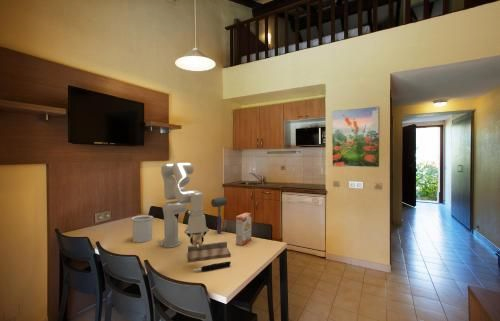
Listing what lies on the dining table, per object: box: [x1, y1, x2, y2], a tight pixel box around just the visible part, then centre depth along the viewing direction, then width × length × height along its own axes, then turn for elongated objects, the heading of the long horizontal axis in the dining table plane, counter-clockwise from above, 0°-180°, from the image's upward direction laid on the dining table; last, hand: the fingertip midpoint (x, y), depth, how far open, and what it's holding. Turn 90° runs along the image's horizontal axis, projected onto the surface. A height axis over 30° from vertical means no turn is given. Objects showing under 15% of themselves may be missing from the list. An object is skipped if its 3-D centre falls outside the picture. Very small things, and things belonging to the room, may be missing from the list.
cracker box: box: [235, 212, 252, 246], centre depth 175 cm, size 14×6×21 cm, turn 153°
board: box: [187, 241, 232, 263], centre depth 153 cm, size 26×14×5 cm, turn 107°
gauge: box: [192, 233, 202, 248], centre depth 137 cm, size 5×11×7 cm, turn 17°
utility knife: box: [192, 260, 231, 272], centre depth 133 cm, size 22×4×3 cm, turn 113°
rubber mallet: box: [210, 196, 228, 234], centre depth 198 cm, size 12×8×30 cm, turn 136°
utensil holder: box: [131, 215, 154, 244], centre depth 184 cm, size 15×15×18 cm
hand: (196, 243), depth 139 cm, fingers closed on gauge, 5 cm apart
